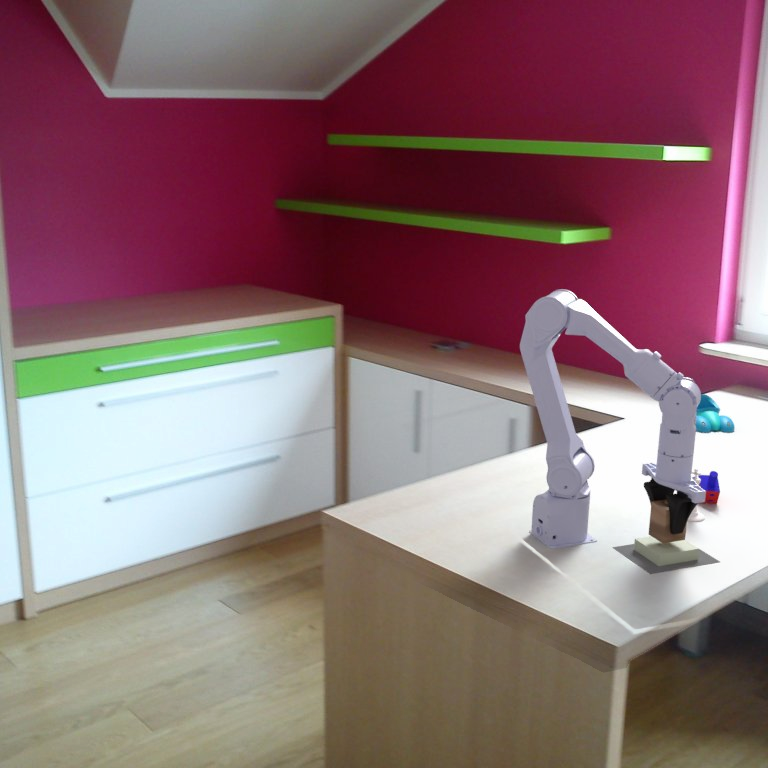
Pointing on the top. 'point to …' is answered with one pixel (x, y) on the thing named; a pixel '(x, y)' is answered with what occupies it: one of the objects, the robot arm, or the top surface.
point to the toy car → (711, 417)
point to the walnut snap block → (662, 523)
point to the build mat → (653, 568)
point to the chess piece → (695, 515)
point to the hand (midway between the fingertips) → (668, 527)
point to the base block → (666, 551)
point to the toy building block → (710, 487)
